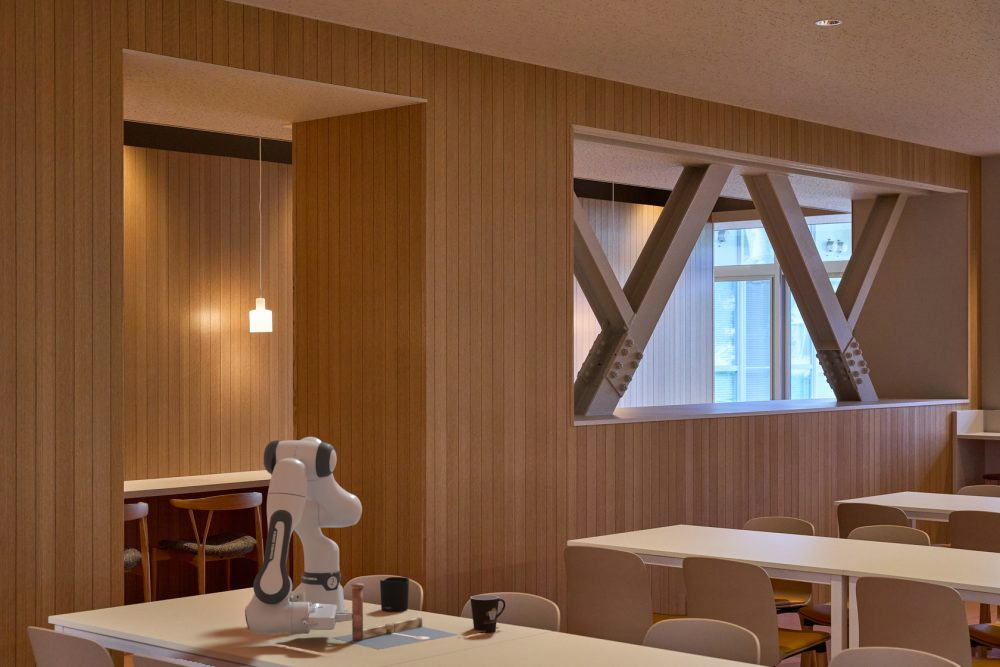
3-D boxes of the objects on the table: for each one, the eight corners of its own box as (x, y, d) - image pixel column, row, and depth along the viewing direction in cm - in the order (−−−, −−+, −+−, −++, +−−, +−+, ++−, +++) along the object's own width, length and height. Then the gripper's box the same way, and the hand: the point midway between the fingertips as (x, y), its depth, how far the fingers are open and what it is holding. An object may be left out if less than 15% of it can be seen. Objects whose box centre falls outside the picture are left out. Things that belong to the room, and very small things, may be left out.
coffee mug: (474, 634, 366) (474, 600, 366) (467, 629, 374) (467, 595, 375) (512, 632, 369) (512, 598, 369) (504, 627, 377) (504, 593, 378)
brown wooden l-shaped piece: (380, 632, 365) (380, 578, 366) (389, 633, 363) (389, 580, 363) (348, 639, 355) (348, 584, 356) (357, 640, 353) (357, 585, 353)
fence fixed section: (389, 634, 363) (389, 625, 364) (383, 633, 365) (383, 624, 365) (424, 626, 375) (424, 618, 375) (418, 625, 376) (418, 617, 377)
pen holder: (376, 608, 410) (376, 578, 410) (403, 606, 414) (403, 576, 414) (385, 613, 402) (385, 582, 402) (413, 611, 405) (413, 580, 406)
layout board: (332, 640, 359) (332, 637, 359) (411, 626, 378) (411, 623, 378) (378, 652, 343) (378, 648, 343) (458, 637, 362) (458, 634, 362)
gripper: (300, 613, 344) (351, 612, 345) (305, 600, 364) (353, 599, 365) (300, 636, 344) (351, 635, 345) (305, 622, 364) (353, 621, 365)
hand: (352, 616), depth 355 cm, fingers closed, pressing on brown wooden l-shaped piece
